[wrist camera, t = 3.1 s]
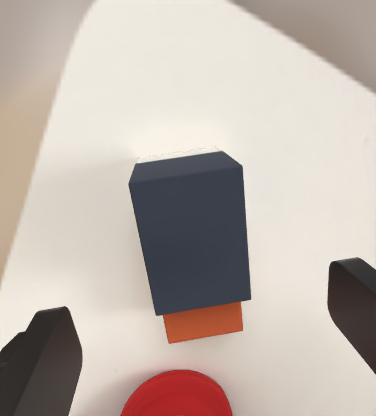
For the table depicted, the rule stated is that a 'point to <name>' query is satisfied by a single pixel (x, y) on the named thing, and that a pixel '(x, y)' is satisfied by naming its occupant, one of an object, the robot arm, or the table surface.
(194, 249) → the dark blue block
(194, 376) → the tracker holder
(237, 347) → the table surface
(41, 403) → the robot arm
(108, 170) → the table surface
